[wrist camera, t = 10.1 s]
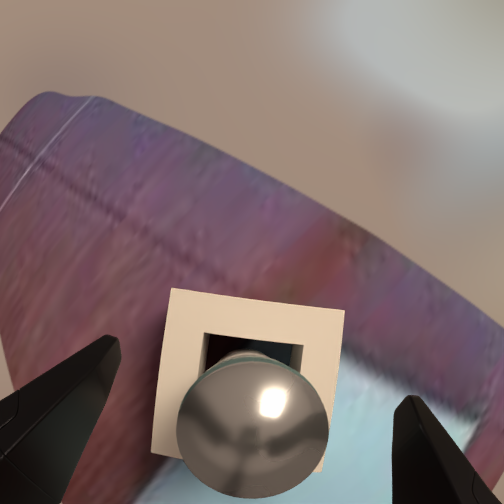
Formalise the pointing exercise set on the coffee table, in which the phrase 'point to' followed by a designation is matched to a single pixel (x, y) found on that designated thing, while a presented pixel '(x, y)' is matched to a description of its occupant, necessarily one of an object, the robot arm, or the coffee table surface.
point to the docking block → (242, 326)
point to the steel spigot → (251, 426)
